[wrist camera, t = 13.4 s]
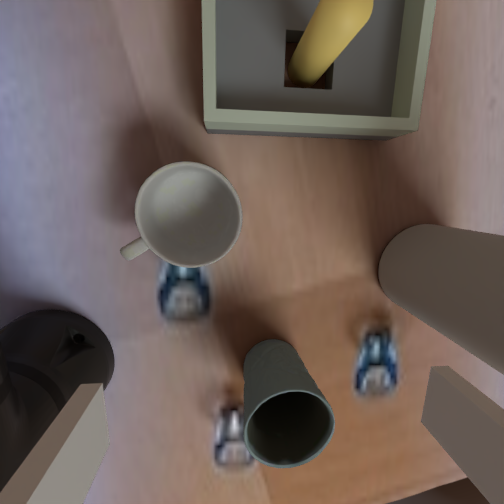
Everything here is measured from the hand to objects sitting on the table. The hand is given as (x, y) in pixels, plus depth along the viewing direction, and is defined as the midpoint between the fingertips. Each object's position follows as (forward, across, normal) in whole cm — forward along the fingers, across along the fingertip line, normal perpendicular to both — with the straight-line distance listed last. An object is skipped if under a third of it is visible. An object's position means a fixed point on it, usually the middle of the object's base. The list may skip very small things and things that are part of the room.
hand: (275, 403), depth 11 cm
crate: (+27, +8, +24) cm, 37 cm away
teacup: (+27, -7, +5) cm, 28 cm away
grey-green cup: (+27, +5, -17) cm, 32 cm away
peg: (+27, +8, +23) cm, 36 cm away
